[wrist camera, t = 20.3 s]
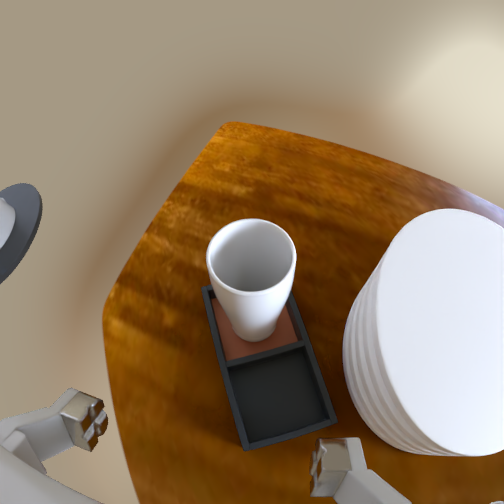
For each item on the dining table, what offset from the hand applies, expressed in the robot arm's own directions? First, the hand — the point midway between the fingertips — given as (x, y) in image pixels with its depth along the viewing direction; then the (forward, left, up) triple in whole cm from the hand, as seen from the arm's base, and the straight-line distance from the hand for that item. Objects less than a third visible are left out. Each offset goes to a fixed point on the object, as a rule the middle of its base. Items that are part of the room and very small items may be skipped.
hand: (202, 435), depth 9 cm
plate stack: (+27, 0, -23) cm, 36 cm away
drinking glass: (+5, +11, -23) cm, 26 cm away
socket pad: (+5, +7, -23) cm, 25 cm away
